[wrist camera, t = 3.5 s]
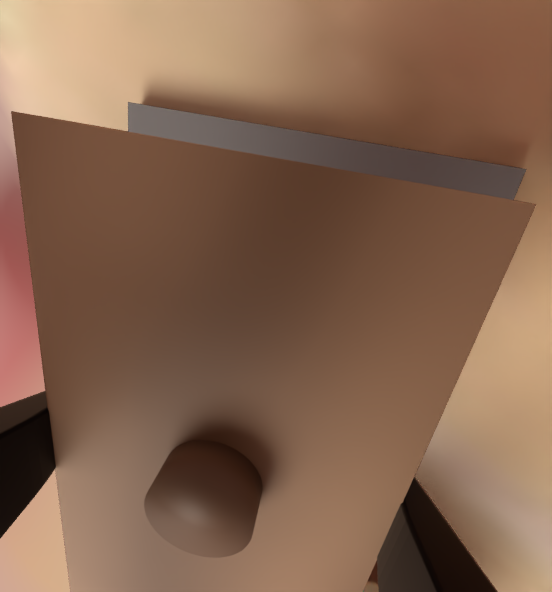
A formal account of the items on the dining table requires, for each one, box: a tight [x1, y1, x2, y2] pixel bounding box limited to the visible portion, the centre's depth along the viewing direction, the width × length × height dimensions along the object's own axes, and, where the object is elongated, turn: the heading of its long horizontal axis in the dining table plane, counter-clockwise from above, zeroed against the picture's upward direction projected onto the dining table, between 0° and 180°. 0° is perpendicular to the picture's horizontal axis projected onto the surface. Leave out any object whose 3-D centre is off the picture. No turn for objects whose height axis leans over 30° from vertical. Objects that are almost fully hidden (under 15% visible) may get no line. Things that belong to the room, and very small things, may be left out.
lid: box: [11, 111, 536, 592], centre depth 7 cm, size 7×12×2 cm, turn 171°
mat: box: [128, 102, 526, 200], centre depth 15 cm, size 14×14×1 cm
